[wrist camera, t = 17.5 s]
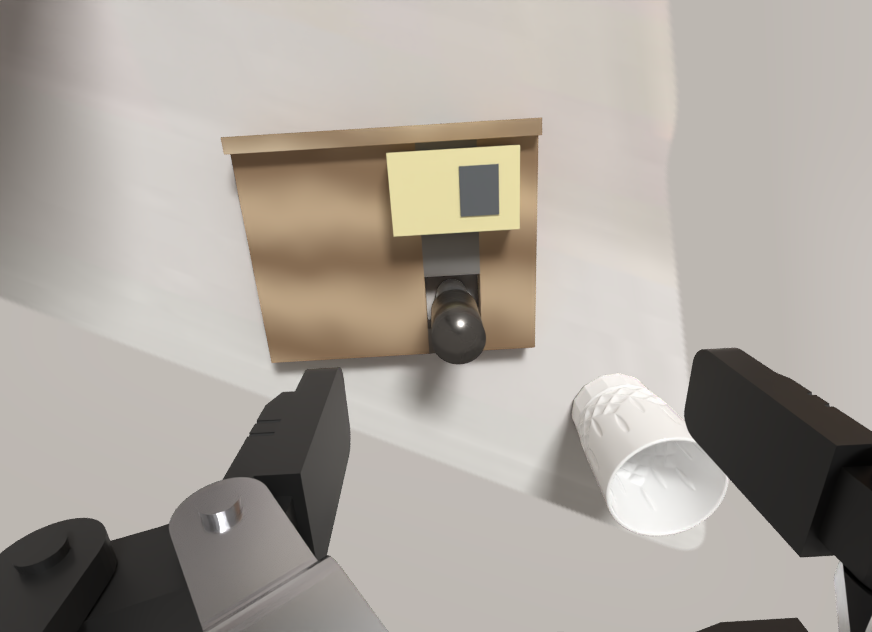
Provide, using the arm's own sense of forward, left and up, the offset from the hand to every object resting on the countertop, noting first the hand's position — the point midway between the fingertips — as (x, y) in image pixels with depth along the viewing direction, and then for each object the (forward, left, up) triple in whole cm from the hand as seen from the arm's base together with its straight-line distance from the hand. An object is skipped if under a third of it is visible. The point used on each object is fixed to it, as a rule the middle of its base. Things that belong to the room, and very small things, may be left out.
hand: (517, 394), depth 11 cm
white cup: (+16, +12, -25) cm, 32 cm away
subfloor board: (+1, -5, -25) cm, 25 cm away
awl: (+5, -1, -25) cm, 25 cm away
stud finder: (-3, 0, -23) cm, 23 cm away
